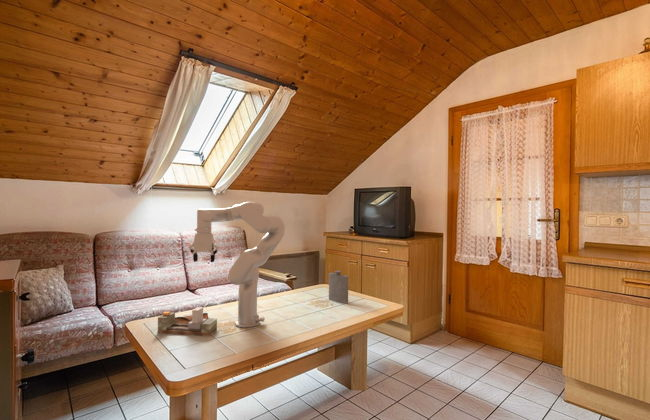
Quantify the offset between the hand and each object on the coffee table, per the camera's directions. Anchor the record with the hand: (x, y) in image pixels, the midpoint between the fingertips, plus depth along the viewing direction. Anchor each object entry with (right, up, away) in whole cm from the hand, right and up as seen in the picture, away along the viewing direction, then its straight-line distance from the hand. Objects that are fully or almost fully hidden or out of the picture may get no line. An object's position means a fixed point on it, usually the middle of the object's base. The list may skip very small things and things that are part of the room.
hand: (203, 261), depth 185 cm
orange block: (-11, -27, -21) cm, 36 cm away
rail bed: (0, -31, -22) cm, 38 cm away
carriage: (+5, -28, -23) cm, 36 cm away
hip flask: (+75, -31, +32) cm, 88 cm away
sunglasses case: (-2, -31, -11) cm, 33 cm away
